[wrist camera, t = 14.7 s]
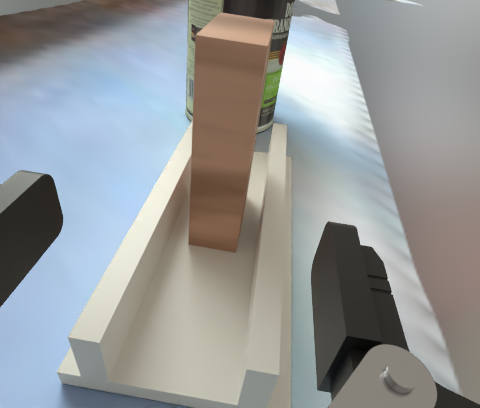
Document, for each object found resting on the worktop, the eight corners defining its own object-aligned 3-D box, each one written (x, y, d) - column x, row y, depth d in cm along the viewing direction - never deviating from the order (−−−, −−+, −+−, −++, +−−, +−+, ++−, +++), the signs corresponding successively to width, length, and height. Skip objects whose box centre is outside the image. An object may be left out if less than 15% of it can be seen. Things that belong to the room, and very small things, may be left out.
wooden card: (235, 252, 21) (267, 46, 14) (188, 244, 21) (195, 34, 14) (246, 196, 26) (274, 20, 19) (207, 190, 26) (220, 12, 19)
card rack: (286, 424, 15) (307, 380, 13) (61, 383, 15) (40, 332, 13) (289, 166, 32) (299, 127, 30) (185, 149, 33) (186, 108, 30)
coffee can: (283, 111, 43) (311, -23, 34) (255, 145, 35) (281, -19, 27) (209, 92, 45) (217, -39, 37) (167, 118, 38) (165, -39, 29)
